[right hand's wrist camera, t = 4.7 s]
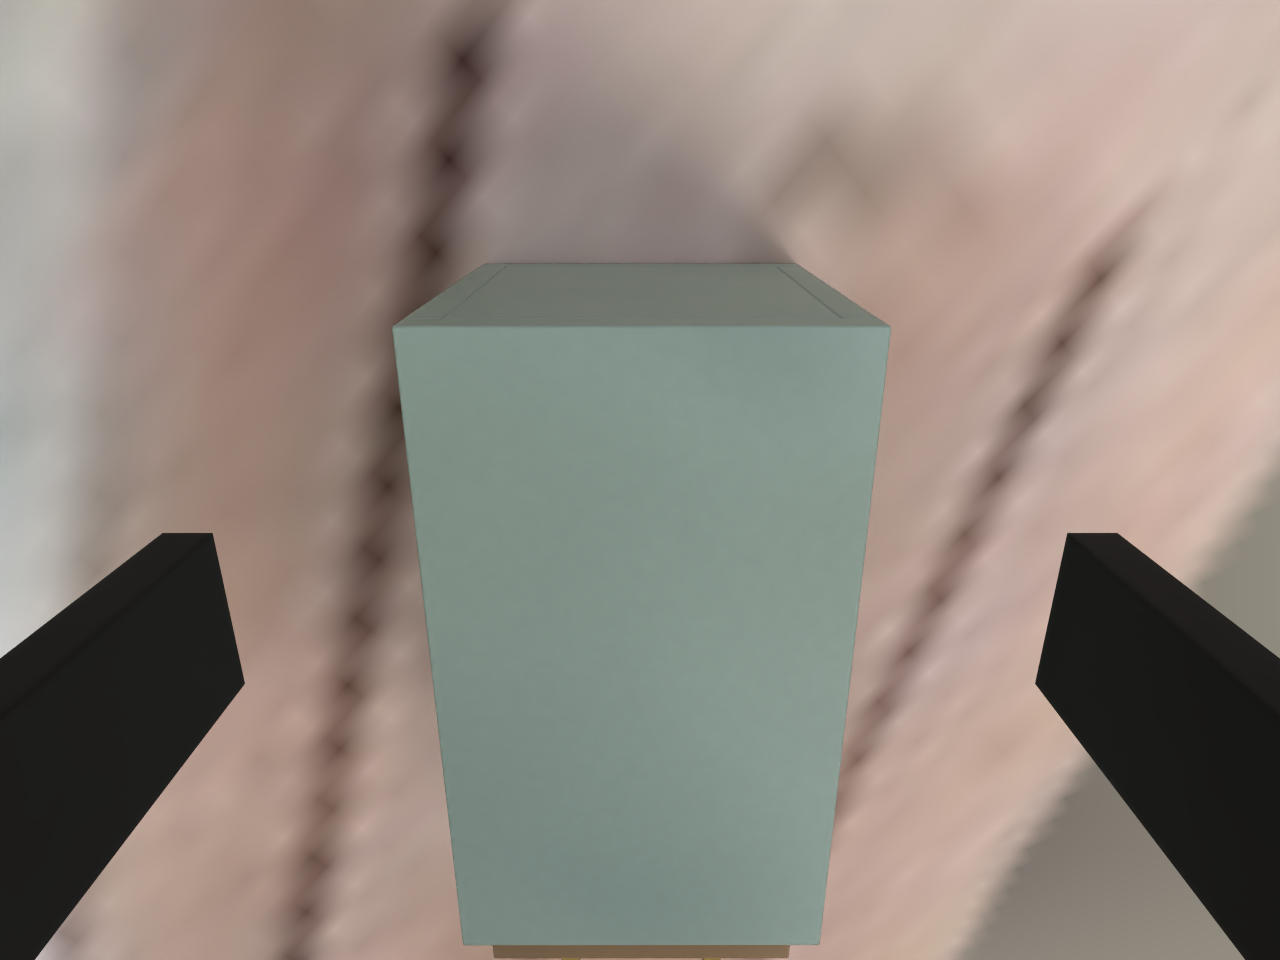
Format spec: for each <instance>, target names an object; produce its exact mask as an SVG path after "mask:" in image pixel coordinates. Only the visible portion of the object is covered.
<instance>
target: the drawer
mask: <svg viewBox="0 0 1280 960" xmlns="http://www.w3.org/2000/svg"><path fill="white" fill-rule="evenodd" d="M789 947H790V945H493V953H494V958H561V959H562V960H580V958H702V960H720V959H721V958H788V956H789Z"/></svg>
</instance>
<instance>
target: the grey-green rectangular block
mask: <svg viewBox="0 0 1280 960" xmlns="http://www.w3.org/2000/svg"><path fill="white" fill-rule="evenodd" d="M392 331H393V340H394V349H395V357H396V366H397V375H398V384H399V392H400V401H401V410H402V418H403V427H404V436H405V444H406V453H407V462H408V470H409V479H410V488H411V496H412V505H413V514H414V522H415V531H416V540H417V548H418V557H419V566H420V574H421V583H422V592H423V600H424V609H425V618H426V626H427V635H428V644H429V652H430V661H431V670H432V678H433V687H434V696H435V704H436V713H437V722H438V730H439V739H440V748H441V757H442V765H443V774H444V783H445V791H446V800H447V809H448V817H449V826H450V835H451V843H452V852H453V861H454V869H455V878H456V887H457V895H458V904H459V913H460V921H461V930H462V939H463V944H464V945H818V944H819V943H820V935H821V926H822V918H823V909H824V900H825V892H826V883H827V875H828V866H829V857H830V849H831V840H832V832H833V823H834V814H835V806H836V797H837V789H838V780H839V771H840V763H841V754H842V746H843V737H844V728H845V720H846V711H847V703H848V694H849V685H850V677H851V668H852V660H853V651H854V642H855V634H856V625H857V617H858V608H859V599H860V591H861V582H862V574H863V565H864V556H865V548H866V539H867V531H868V522H869V513H870V505H871V496H872V488H873V479H874V470H875V462H876V453H877V445H878V436H879V427H880V419H881V410H882V402H883V393H884V384H885V376H886V367H887V359H888V350H889V341H890V333H891V327H890V326H889V325H888V324H886V323H885V322H883V321H882V320H880V319H878V318H877V317H875V316H874V315H872V314H871V313H869V312H868V311H866V310H865V309H863V308H862V307H860V306H859V305H857V304H856V303H854V302H853V301H851V300H850V299H849V298H847V297H846V296H844V295H843V294H841V293H840V292H838V291H837V290H835V289H834V288H832V287H831V286H829V285H828V284H826V283H825V282H823V281H822V280H820V279H819V278H817V277H816V276H814V275H813V274H811V273H810V272H808V271H807V270H805V269H804V268H802V267H801V266H800V265H798V264H484V265H482V266H481V267H478V268H477V269H476V270H474V271H473V272H471V273H470V274H468V275H467V276H465V277H464V278H462V279H461V280H459V281H458V282H457V283H455V284H454V285H452V286H451V287H449V288H448V289H446V290H445V291H443V292H442V293H440V294H439V295H438V296H436V297H435V298H433V299H432V300H430V301H429V302H427V303H426V304H424V305H423V306H421V307H420V308H419V309H417V310H416V311H414V312H413V313H411V314H410V315H408V316H407V317H405V318H404V319H403V320H401V321H400V322H398V323H397V324H396V325H394V326H393V328H392Z"/></svg>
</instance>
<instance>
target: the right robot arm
mask: <svg viewBox="0 0 1280 960" xmlns="http://www.w3.org/2000/svg"><path fill="white" fill-rule="evenodd" d="M244 684H245V682H244V678H243V673H242V668H241V664H240V659H239V654H238V650H237V645H236V640H235V636H234V631H233V626H232V622H231V617H230V612H229V608H228V603H227V598H226V594H225V589H224V584H223V580H222V575H221V570H220V566H219V561H218V556H217V552H216V547H215V542H214V538H213V533H162V534H161V535H160V536H158V537H157V538H156V539H154V540H153V541H152V542H151V543H149V544H148V545H147V546H145V547H144V548H143V549H141V550H140V551H139V552H138V553H136V554H135V555H134V556H132V557H131V558H130V559H129V560H127V561H126V562H125V563H123V564H122V565H121V566H119V567H118V568H117V569H116V570H114V571H113V572H112V573H110V574H109V575H108V576H107V577H105V578H104V579H103V580H101V581H100V582H99V583H97V584H96V585H95V586H94V587H92V588H91V589H90V590H88V591H87V592H86V593H85V594H83V595H82V596H81V597H79V598H78V599H77V600H75V601H74V602H73V603H72V604H70V605H69V606H68V607H66V608H65V609H64V610H62V611H61V612H60V613H59V614H57V615H56V616H55V617H53V618H52V619H51V620H50V621H48V622H47V623H46V624H44V625H43V626H42V627H40V628H39V629H38V630H37V631H35V632H34V633H33V634H31V635H30V636H29V637H28V638H26V639H25V640H24V641H22V642H21V643H20V644H18V645H17V646H16V647H15V648H13V649H12V650H11V651H9V652H8V653H7V654H6V655H4V656H3V657H2V658H0V960H35V959H36V957H37V956H38V955H39V953H40V952H41V951H42V949H43V948H44V947H45V946H46V944H47V943H48V942H49V940H50V939H51V938H52V936H53V935H54V934H55V932H56V931H57V930H58V928H59V927H60V926H61V925H62V923H63V922H64V921H65V919H66V918H67V917H68V915H69V914H70V913H71V911H72V910H73V909H74V907H75V906H76V905H77V903H78V902H79V901H80V900H81V898H82V897H83V896H84V894H85V893H86V892H87V890H88V889H89V888H90V886H91V885H92V884H93V882H94V881H95V880H96V879H97V877H98V876H99V875H100V873H101V872H102V871H103V869H104V868H105V867H106V865H107V864H108V863H109V861H110V860H111V859H112V858H113V856H114V855H115V854H116V852H117V851H118V850H119V848H120V847H121V846H122V844H123V843H124V842H125V840H126V839H127V838H128V836H129V835H130V834H131V833H132V831H133V830H134V829H135V827H136V826H137V825H138V823H139V822H140V821H141V819H142V818H143V817H144V815H145V814H146V813H147V812H148V810H149V809H150V808H151V806H152V805H153V804H154V802H155V801H156V800H157V798H158V797H159V796H160V794H161V793H162V792H163V790H164V789H165V788H166V787H167V785H168V784H169V783H170V781H171V780H172V779H173V777H174V776H175V775H176V773H177V772H178V771H179V769H180V768H181V767H182V766H183V764H184V763H185V762H186V760H187V759H188V758H189V756H190V755H191V754H192V752H193V751H194V750H195V748H196V747H197V746H198V745H199V743H200V742H201V741H202V739H203V738H204V737H205V735H206V734H207V733H208V731H209V730H210V729H211V727H212V726H213V725H214V723H215V722H216V721H217V720H218V718H219V717H220V716H221V714H222V713H223V712H224V710H225V709H226V708H227V706H228V705H229V704H230V702H231V701H232V700H233V699H234V697H235V696H236V695H237V693H238V692H239V691H240V689H241V688H242V687H243V685H244ZM1035 684H1036V685H1037V687H1038V688H1039V689H1040V691H1041V692H1042V693H1043V695H1044V696H1045V697H1046V699H1047V700H1048V701H1049V702H1050V704H1051V705H1052V706H1053V708H1054V709H1055V710H1056V712H1057V713H1058V714H1059V716H1060V717H1061V718H1062V720H1063V721H1064V722H1065V723H1066V725H1067V726H1068V727H1069V729H1070V730H1071V731H1072V733H1073V734H1074V735H1075V737H1076V738H1077V739H1078V741H1079V742H1080V743H1081V745H1082V746H1083V747H1084V748H1085V750H1086V751H1087V752H1088V754H1089V755H1090V756H1091V758H1092V759H1093V760H1094V762H1095V763H1096V764H1097V766H1098V767H1099V768H1100V769H1101V771H1102V772H1103V773H1104V775H1105V776H1106V777H1107V779H1108V780H1109V781H1110V783H1111V784H1112V785H1113V787H1114V788H1115V789H1116V790H1117V792H1118V793H1119V794H1120V796H1121V797H1122V798H1123V800H1124V801H1125V802H1126V804H1127V805H1128V806H1129V808H1130V809H1131V810H1132V812H1133V813H1134V814H1135V815H1136V817H1137V818H1138V819H1139V821H1140V822H1141V823H1142V825H1143V826H1144V827H1145V829H1146V830H1147V831H1148V833H1149V834H1150V835H1151V836H1152V838H1153V839H1154V840H1155V842H1156V843H1157V844H1158V846H1159V847H1160V848H1161V850H1162V851H1163V852H1164V854H1165V855H1166V856H1167V858H1168V859H1169V860H1170V861H1171V863H1172V864H1173V865H1174V867H1175V868H1176V869H1177V871H1178V872H1179V873H1180V875H1181V876H1182V877H1183V879H1184V880H1185V881H1186V882H1187V884H1188V885H1189V886H1190V888H1191V889H1192V890H1193V892H1194V893H1195V894H1196V896H1197V897H1198V898H1199V900H1200V901H1201V902H1202V903H1203V905H1204V906H1205V907H1206V909H1207V910H1208V911H1209V913H1210V914H1211V915H1212V917H1213V918H1214V919H1215V921H1216V922H1217V923H1218V924H1219V926H1220V927H1221V928H1222V930H1223V931H1224V932H1225V934H1226V935H1227V936H1228V938H1229V939H1230V940H1231V942H1232V943H1233V944H1234V946H1235V947H1236V948H1237V949H1238V951H1239V952H1240V953H1241V955H1242V956H1243V957H1244V959H1245V960H1280V658H1278V657H1277V656H1276V655H1274V654H1273V653H1272V652H1270V651H1269V650H1268V649H1267V648H1265V647H1264V646H1263V645H1261V644H1260V643H1259V642H1258V641H1256V640H1255V639H1254V638H1252V637H1251V636H1250V635H1249V634H1247V633H1246V632H1245V631H1243V630H1242V629H1241V628H1239V627H1238V626H1237V625H1236V624H1234V623H1233V622H1232V621H1230V620H1229V619H1228V618H1226V617H1225V616H1224V615H1223V614H1221V613H1220V612H1219V611H1218V610H1216V609H1215V608H1214V607H1212V606H1211V605H1210V604H1208V603H1207V602H1206V601H1205V600H1203V599H1202V598H1201V597H1199V596H1198V595H1197V594H1195V593H1194V592H1193V591H1192V590H1190V589H1189V588H1188V587H1186V586H1185V585H1184V584H1183V583H1181V582H1180V581H1179V580H1177V579H1176V578H1175V577H1173V576H1172V575H1171V574H1170V573H1168V572H1167V571H1166V570H1164V569H1163V568H1162V567H1161V566H1159V565H1158V564H1157V563H1155V562H1154V561H1153V560H1151V559H1150V558H1149V557H1148V556H1146V555H1145V554H1144V553H1142V552H1141V551H1140V550H1139V549H1137V548H1136V547H1135V546H1133V545H1132V544H1131V543H1129V542H1128V541H1127V540H1126V539H1124V538H1123V537H1122V536H1120V535H1119V534H1118V533H1067V538H1066V542H1065V547H1064V552H1063V556H1062V561H1061V566H1060V570H1059V575H1058V580H1057V584H1056V589H1055V594H1054V598H1053V603H1052V608H1051V612H1050V617H1049V622H1048V626H1047V631H1046V636H1045V640H1044V645H1043V650H1042V654H1041V659H1040V664H1039V668H1038V673H1037V678H1036V682H1035Z"/></svg>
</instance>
